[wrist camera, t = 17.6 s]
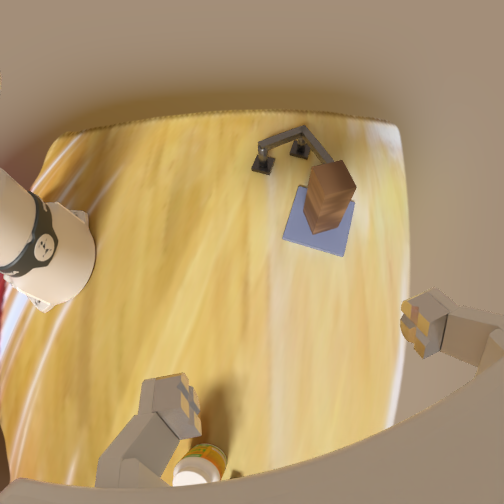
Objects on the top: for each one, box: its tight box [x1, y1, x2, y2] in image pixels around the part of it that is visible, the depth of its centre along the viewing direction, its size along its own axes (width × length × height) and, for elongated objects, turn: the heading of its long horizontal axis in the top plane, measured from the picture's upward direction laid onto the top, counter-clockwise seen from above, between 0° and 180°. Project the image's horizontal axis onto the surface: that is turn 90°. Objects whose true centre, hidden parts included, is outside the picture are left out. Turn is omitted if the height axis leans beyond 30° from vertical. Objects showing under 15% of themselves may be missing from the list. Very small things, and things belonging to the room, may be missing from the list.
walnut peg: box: [303, 160, 357, 235], centre depth 38 cm, size 4×4×11 cm
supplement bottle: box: [173, 444, 227, 487], centre depth 28 cm, size 5×5×10 cm
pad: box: [283, 186, 355, 257], centre depth 43 cm, size 9×9×1 cm
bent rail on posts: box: [251, 125, 334, 175], centre depth 45 cm, size 13×8×6 cm, turn 71°
